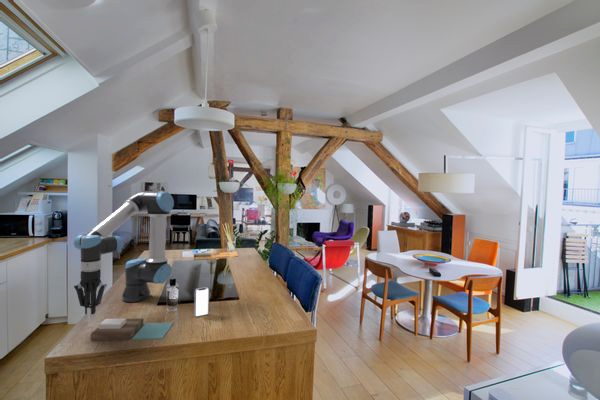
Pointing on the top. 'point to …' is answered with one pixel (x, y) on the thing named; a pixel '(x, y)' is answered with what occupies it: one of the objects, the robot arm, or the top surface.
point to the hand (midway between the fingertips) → (90, 320)
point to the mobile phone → (201, 302)
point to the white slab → (112, 323)
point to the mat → (152, 331)
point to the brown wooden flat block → (118, 331)
